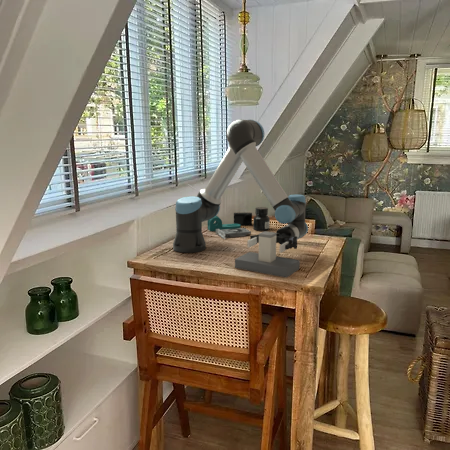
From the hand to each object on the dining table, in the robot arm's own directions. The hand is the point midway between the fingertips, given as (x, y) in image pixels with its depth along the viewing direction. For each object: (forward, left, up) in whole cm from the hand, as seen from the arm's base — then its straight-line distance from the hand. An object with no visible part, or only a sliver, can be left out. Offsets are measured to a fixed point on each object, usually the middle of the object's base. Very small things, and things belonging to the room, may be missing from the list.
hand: (263, 246), depth 164 cm
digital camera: (-84, -8, -11) cm, 85 cm away
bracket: (-74, -18, -11) cm, 77 cm away
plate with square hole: (-3, +1, -10) cm, 11 cm away
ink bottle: (-74, +2, -11) cm, 75 cm away
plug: (-3, +1, -9) cm, 10 cm away
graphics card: (-59, -12, -11) cm, 61 cm away
